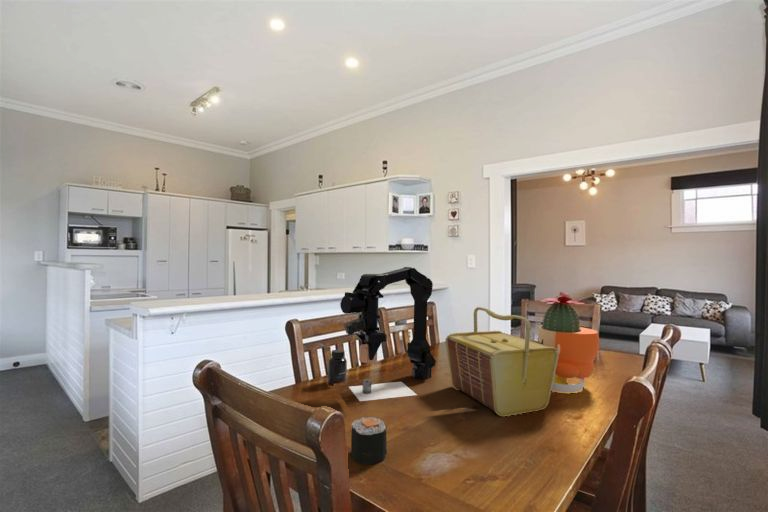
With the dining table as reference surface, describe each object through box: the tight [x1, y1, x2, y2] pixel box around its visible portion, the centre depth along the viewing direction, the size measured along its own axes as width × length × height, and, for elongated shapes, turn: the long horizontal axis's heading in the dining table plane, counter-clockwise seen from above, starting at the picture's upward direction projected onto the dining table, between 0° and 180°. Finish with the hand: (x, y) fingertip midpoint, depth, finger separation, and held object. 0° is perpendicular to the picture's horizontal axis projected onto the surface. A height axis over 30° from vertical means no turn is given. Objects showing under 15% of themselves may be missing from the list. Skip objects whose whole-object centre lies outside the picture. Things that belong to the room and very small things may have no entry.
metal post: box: [362, 378, 372, 394], centre depth 130 cm, size 3×3×4 cm
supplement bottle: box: [327, 349, 348, 387], centre depth 143 cm, size 7×7×12 cm
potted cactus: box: [537, 291, 601, 392], centre depth 147 cm, size 22×22×35 cm
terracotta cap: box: [358, 344, 378, 364], centre depth 130 cm, size 6×6×5 cm
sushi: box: [350, 416, 388, 466], centre depth 92 cm, size 8×8×8 cm
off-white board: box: [348, 381, 418, 402], centre depth 132 cm, size 20×14×2 cm
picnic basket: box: [445, 306, 559, 418], centre depth 130 cm, size 29×26×30 cm
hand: (368, 357), depth 130 cm, fingers closed on terracotta cap, 6 cm apart
